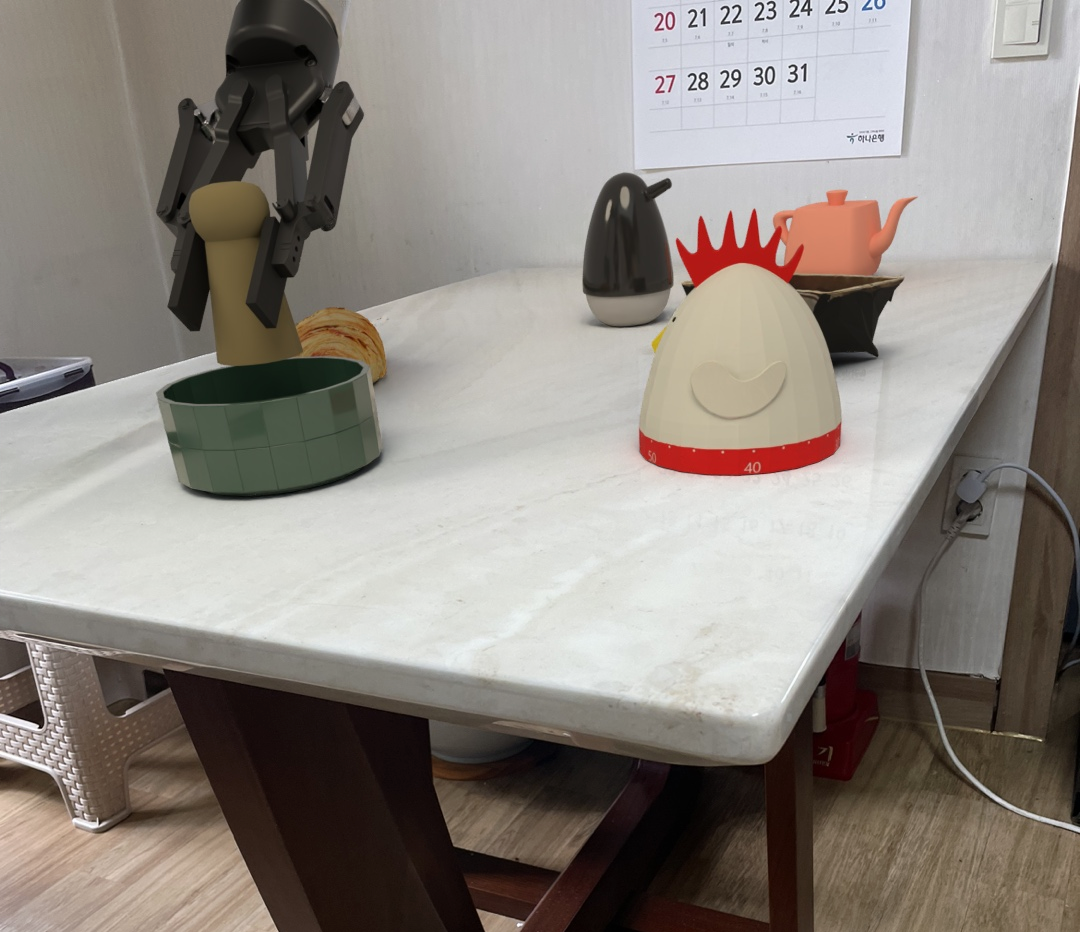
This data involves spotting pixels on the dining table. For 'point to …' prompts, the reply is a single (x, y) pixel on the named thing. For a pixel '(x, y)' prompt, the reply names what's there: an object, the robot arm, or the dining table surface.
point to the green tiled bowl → (271, 425)
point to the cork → (238, 274)
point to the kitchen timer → (740, 367)
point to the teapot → (839, 234)
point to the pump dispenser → (627, 253)
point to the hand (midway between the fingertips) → (222, 317)
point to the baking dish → (843, 306)
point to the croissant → (342, 338)
